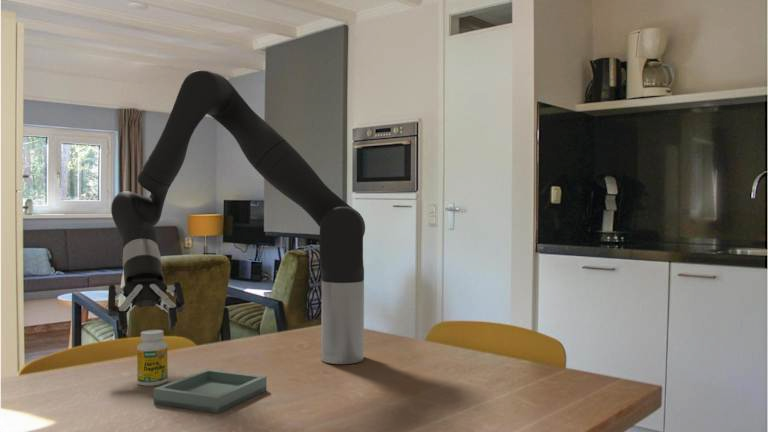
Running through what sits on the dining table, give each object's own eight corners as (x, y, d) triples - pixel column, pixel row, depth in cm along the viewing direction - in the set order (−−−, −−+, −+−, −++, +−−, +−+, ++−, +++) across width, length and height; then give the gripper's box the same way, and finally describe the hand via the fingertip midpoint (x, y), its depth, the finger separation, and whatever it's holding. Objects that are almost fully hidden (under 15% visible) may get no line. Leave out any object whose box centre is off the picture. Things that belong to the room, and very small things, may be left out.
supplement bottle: (163, 377, 120) (163, 327, 120) (170, 383, 116) (171, 332, 116) (134, 381, 117) (134, 330, 117) (140, 388, 113) (140, 335, 113)
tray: (207, 382, 117) (207, 369, 117) (266, 390, 112) (266, 376, 112) (153, 403, 104) (153, 388, 104) (217, 413, 99) (217, 397, 99)
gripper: (106, 254, 125) (110, 320, 115) (179, 252, 132) (189, 314, 122) (104, 278, 130) (108, 343, 120) (175, 275, 136) (184, 336, 126)
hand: (149, 328), depth 121 cm, fingers open, 8 cm apart
